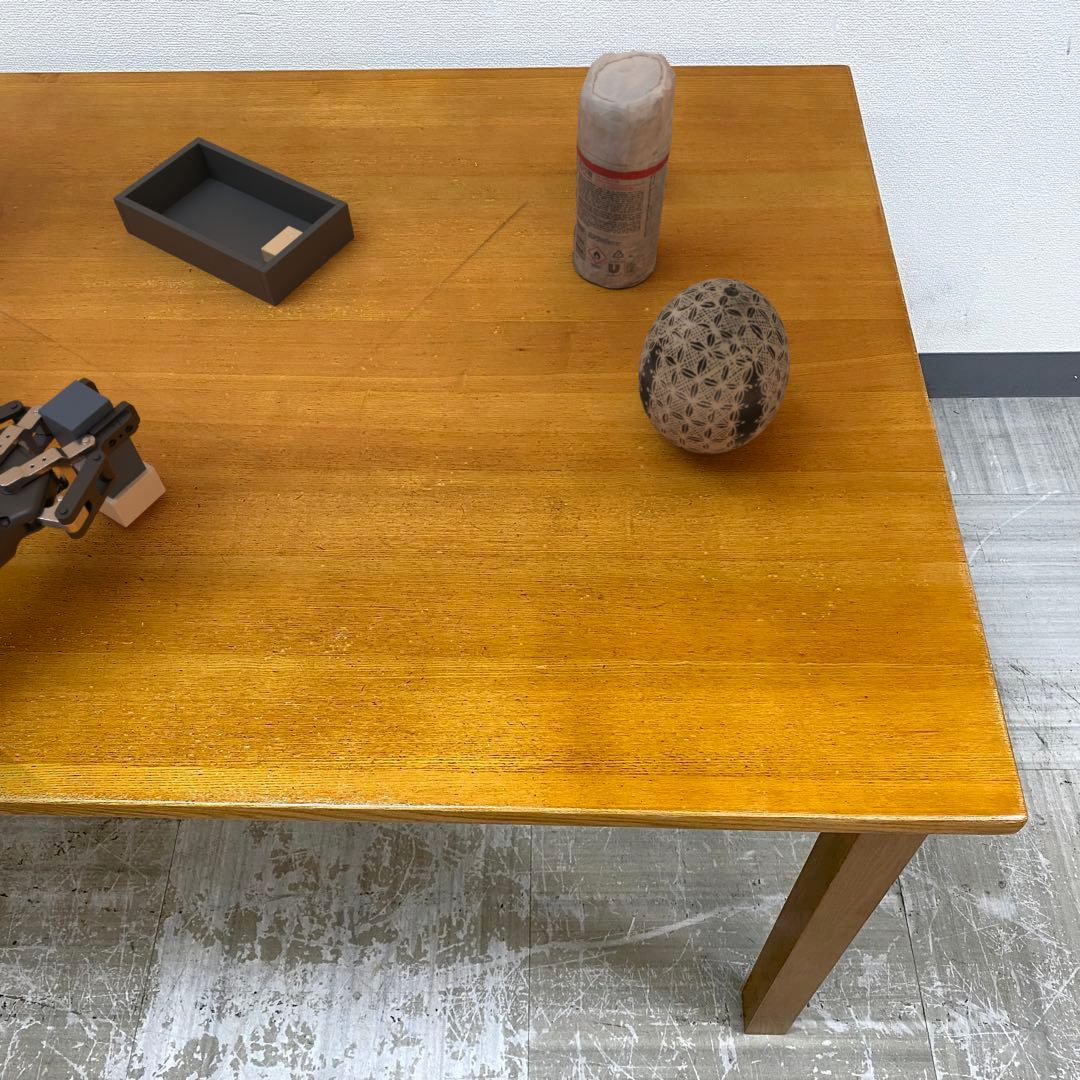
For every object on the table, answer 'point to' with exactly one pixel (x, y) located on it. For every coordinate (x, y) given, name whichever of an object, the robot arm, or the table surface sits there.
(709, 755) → the table surface
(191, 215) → the bin
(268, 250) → the beige square block
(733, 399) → the decorative egg
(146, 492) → the two-tone block stamp
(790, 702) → the table surface
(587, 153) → the spray can
